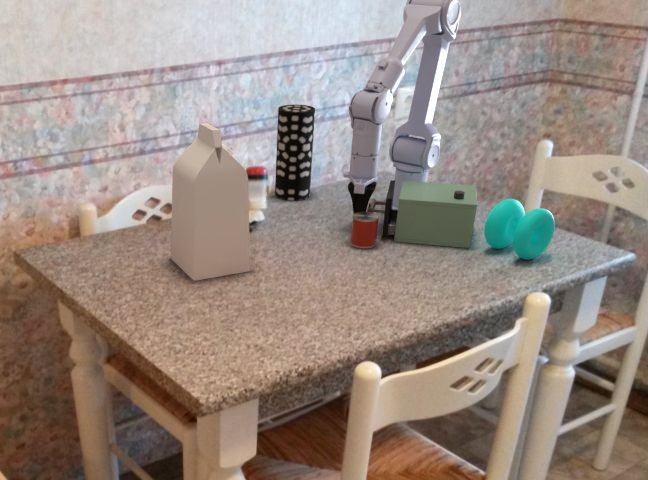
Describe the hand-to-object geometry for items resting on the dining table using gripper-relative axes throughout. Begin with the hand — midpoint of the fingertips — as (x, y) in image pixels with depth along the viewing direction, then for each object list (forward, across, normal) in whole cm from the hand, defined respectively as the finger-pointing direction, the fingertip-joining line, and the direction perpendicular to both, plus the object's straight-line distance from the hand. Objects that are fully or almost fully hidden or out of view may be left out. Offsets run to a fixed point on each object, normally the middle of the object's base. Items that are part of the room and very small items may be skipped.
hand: (359, 217), depth 173 cm
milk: (+2, +28, -25) cm, 38 cm away
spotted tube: (+3, -19, -18) cm, 26 cm away
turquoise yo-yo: (+3, +7, +32) cm, 32 cm away
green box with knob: (+2, 0, +16) cm, 16 cm away
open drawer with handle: (+2, 0, +11) cm, 11 cm away
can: (+2, +10, +2) cm, 10 cm away
